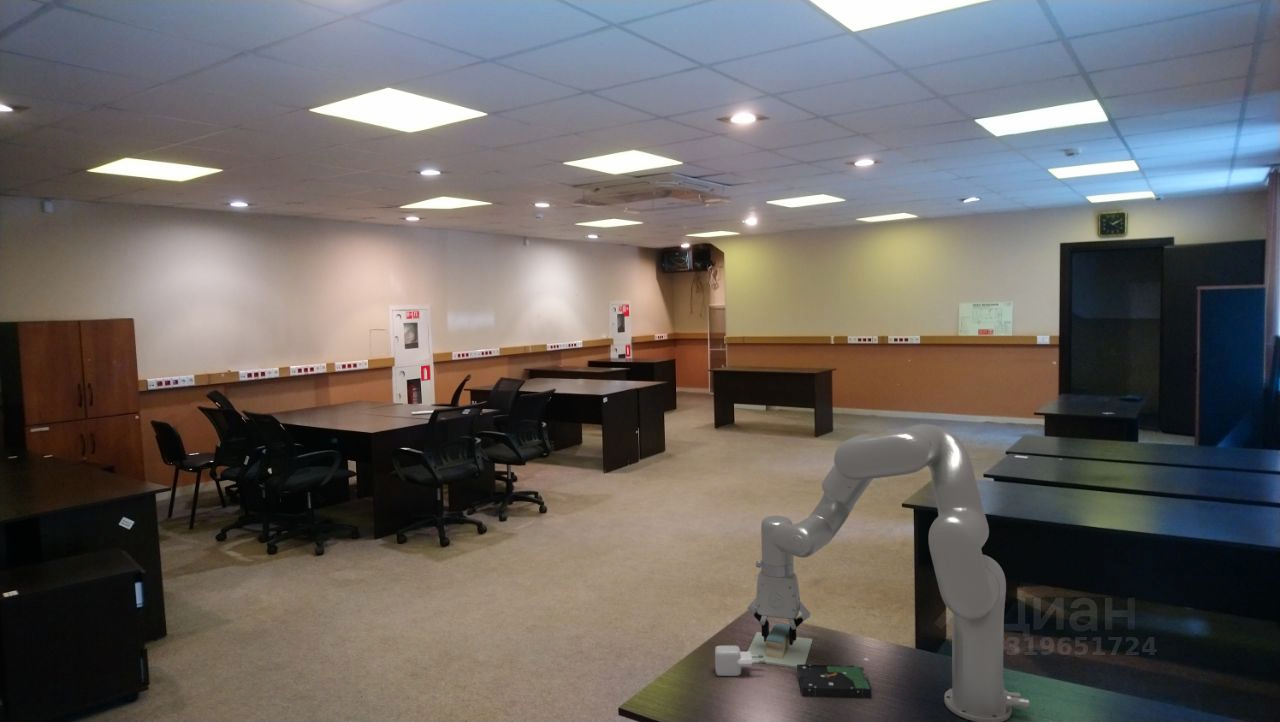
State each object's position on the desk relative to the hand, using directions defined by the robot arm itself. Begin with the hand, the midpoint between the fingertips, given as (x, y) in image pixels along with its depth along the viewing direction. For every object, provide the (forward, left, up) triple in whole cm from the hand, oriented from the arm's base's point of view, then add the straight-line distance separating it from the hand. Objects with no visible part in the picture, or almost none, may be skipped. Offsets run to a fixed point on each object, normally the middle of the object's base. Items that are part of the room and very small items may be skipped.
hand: (779, 640), depth 176 cm
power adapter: (+7, +13, -3) cm, 15 cm away
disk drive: (-14, +12, -3) cm, 19 cm away
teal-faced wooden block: (0, 0, -2) cm, 2 cm away
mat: (0, 0, -3) cm, 3 cm away
